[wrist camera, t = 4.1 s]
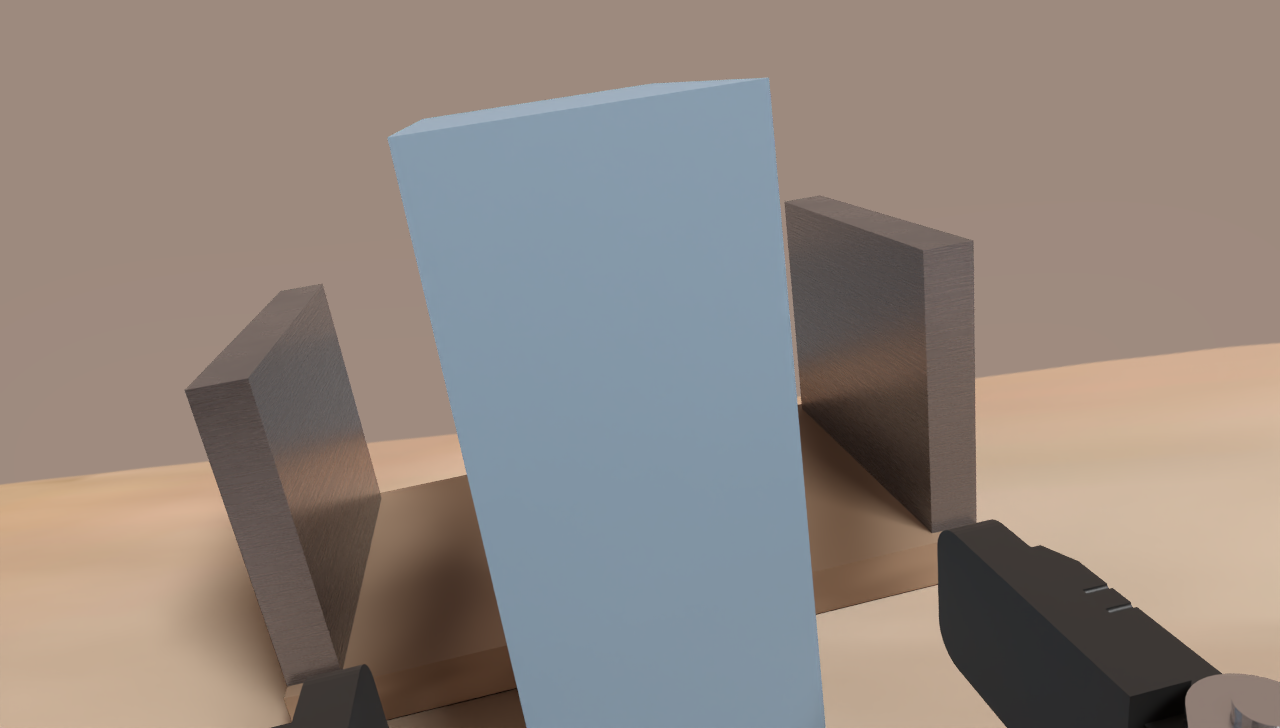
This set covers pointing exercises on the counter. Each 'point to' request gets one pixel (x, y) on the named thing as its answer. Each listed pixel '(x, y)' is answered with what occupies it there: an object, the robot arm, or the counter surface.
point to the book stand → (467, 607)
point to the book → (626, 398)
